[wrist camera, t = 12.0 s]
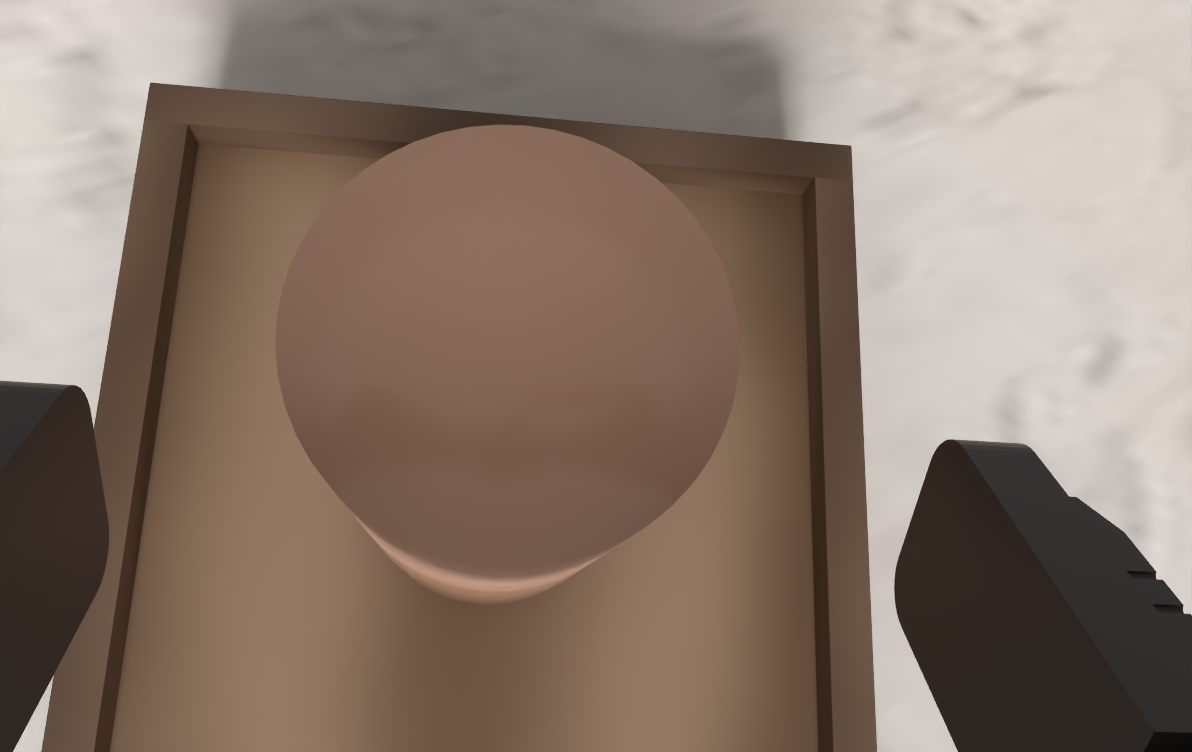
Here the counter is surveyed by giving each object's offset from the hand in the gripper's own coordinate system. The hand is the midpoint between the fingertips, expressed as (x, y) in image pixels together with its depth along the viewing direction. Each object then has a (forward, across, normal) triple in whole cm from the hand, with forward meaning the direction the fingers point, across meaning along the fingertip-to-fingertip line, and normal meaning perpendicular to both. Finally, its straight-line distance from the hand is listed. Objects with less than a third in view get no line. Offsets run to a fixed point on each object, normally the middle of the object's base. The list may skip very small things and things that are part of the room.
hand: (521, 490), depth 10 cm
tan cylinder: (+8, 0, +5) cm, 9 cm away
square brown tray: (+10, 0, +7) cm, 12 cm away
